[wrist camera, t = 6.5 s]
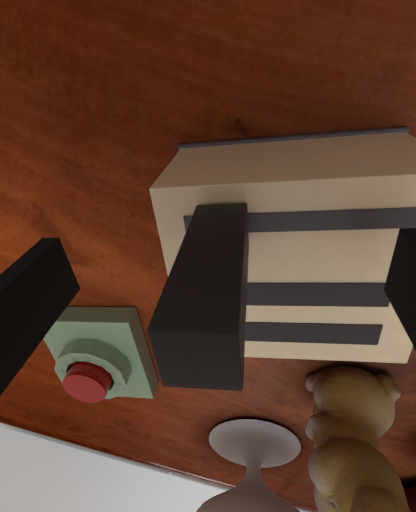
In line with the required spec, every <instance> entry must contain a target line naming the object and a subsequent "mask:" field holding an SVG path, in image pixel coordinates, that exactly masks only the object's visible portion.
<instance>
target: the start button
mask: <svg viewBox="0 0 416 512" xmlns="http://www.w3.org/2000/svg"><path fill="white" fill-rule="evenodd" d="M111 383H112V375H111V374H110V373H109V372H108V371H106V370H105V369H104V368H103V367H101V366H98V365H96V364H93V363H91V362H82V361H77V362H75V363H73V364H72V366H71V367H70V369H69V371H68V372H67V374H66V376H65V377H64V379H63V382H62V385H63V388H64V389H65V390H66V392H67V393H69V394H70V395H71V396H73V397H75V398H77V399H79V400H82V401H85V402H99V401H102V400H103V399H104V398H105V397H106V394H107V392H108V390H109V387H110V385H111Z"/></svg>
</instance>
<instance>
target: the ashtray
mask: <svg viewBox="0 0 416 512" xmlns="http://www.w3.org/2000/svg"><path fill="white" fill-rule="evenodd" d="M404 492H405V496H406V500H407V503H408V506H409V509H410V511H411V512H416V486H412V487H409V488H405V489H404Z"/></svg>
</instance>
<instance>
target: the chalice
mask: <svg viewBox="0 0 416 512" xmlns="http://www.w3.org/2000/svg"><path fill="white" fill-rule="evenodd" d="M209 442H210V445H211V446H212V448H213V449H214V450H215V452H217V453H218V454H219V455H220V456H222V457H223V458H225V459H227V460H229V461H231V462H234V463H237V464H240V465H244V466H246V469H247V470H246V473H245V477H244V478H243V480H242V482H241V483H240V484H239V485H237V486H236V487H234V488H233V489H230V490H228V491H226V492H224V493H221V494H219V495H216V496H214V497H212V498H211V499H209V500H207V501H206V502H204V503H203V504H202V505H201V507H200V508H199V509H198V510H197V511H196V512H300V511H299V510H297V509H296V508H295V507H294V506H292V505H290V504H289V503H288V502H286V501H285V500H283V499H282V498H280V497H279V496H277V495H276V494H274V493H273V492H272V491H271V490H270V489H269V488H268V487H267V486H266V484H265V483H264V481H263V479H262V475H261V468H266V467H276V466H281V465H284V464H287V463H289V462H290V461H292V460H293V459H294V458H296V457H297V456H298V454H299V452H300V450H301V444H300V442H299V440H298V438H297V437H296V436H295V435H294V434H293V433H291V432H290V431H289V430H287V429H285V428H283V427H281V426H279V425H277V424H273V423H270V422H267V421H261V420H252V419H241V420H232V421H228V422H224V423H222V424H220V425H218V426H216V427H215V428H214V429H212V431H211V433H210V434H209Z"/></svg>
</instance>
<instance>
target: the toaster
mask: <svg viewBox="0 0 416 512" xmlns="http://www.w3.org/2000/svg"><path fill="white" fill-rule="evenodd" d="M409 130H410V128H409V127H407V126H402V127H389V128H376V129H364V130H351V131H338V132H325V133H312V134H299V135H286V136H273V137H261V138H248V139H235V140H222V141H209V142H196V143H183V144H179V145H178V146H177V148H178V153H177V154H176V156H175V157H174V158H173V159H172V161H171V162H170V163H169V164H168V166H167V167H166V168H165V169H164V171H163V172H162V173H161V175H160V176H159V177H158V178H157V180H156V181H155V182H154V183H153V185H152V186H151V187H150V189H149V190H150V195H151V200H152V204H153V209H154V214H155V218H156V223H157V227H158V232H159V237H160V241H161V246H162V251H163V255H164V260H165V265H166V269H167V274H168V276H169V274H170V271H171V269H172V266H173V264H174V261H175V259H176V256H177V254H178V251H179V248H180V246H181V243H182V241H183V238H184V236H185V233H186V231H187V228H188V226H189V223H190V221H191V218H192V216H193V213H194V211H195V208H196V206H197V205H211V204H234V203H247V208H248V234H249V257H248V281H247V304H246V328H245V351H244V357H258V358H284V359H309V360H334V361H359V362H385V363H407V361H408V358H409V356H410V353H411V350H412V347H413V344H412V343H411V341H410V339H409V337H408V335H407V333H406V331H405V329H404V327H403V326H402V324H401V322H400V320H399V318H398V316H397V314H396V312H395V310H394V309H393V307H392V305H391V303H390V301H389V299H388V297H387V295H386V293H385V292H384V287H385V283H386V279H387V275H388V271H389V267H390V264H391V260H392V256H393V252H394V248H395V244H396V241H397V237H398V233H399V229H400V228H416V138H415V137H414V136H412V135H410V134H409Z"/></svg>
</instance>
